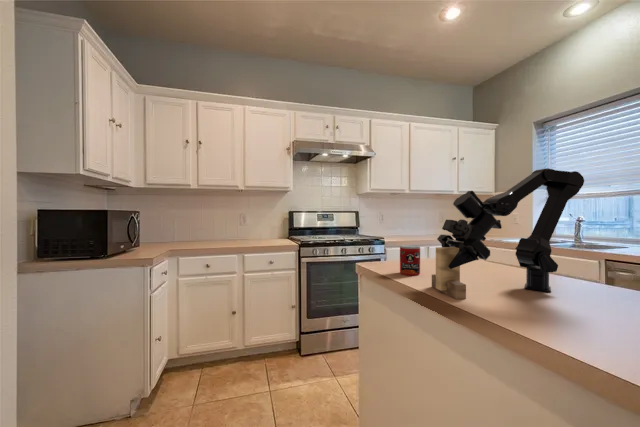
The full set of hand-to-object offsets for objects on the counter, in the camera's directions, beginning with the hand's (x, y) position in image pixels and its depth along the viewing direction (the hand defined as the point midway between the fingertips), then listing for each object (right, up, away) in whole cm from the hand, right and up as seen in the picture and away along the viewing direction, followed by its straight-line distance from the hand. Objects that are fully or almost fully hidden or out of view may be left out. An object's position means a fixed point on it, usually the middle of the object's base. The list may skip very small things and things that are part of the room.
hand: (443, 265), depth 86 cm
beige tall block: (+2, -7, 0) cm, 7 cm away
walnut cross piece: (+1, -8, 0) cm, 8 cm away
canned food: (-2, -8, +26) cm, 27 cm away
